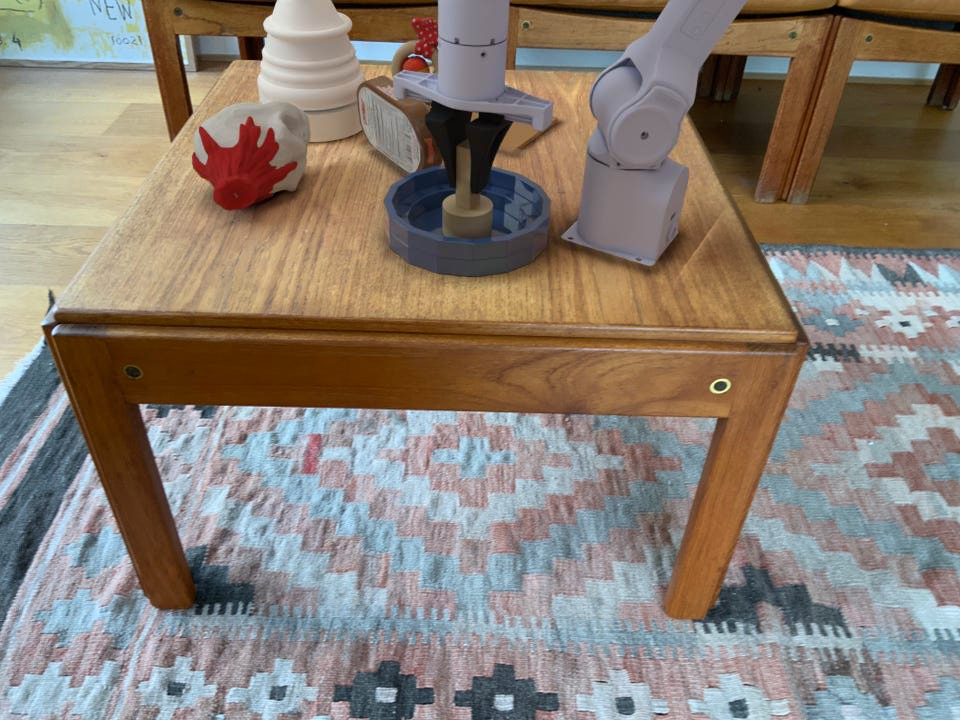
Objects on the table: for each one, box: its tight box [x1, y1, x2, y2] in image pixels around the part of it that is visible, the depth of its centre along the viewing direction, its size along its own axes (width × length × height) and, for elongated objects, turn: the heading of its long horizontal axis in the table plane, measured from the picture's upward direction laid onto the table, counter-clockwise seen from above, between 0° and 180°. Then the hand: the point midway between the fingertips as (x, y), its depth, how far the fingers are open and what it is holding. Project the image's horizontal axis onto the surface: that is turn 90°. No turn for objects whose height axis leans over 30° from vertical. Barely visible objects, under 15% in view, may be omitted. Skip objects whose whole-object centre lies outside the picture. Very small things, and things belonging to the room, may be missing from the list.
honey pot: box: [256, 0, 367, 143], centre depth 91 cm, size 13×13×18 cm
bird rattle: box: [390, 16, 438, 78], centre depth 100 cm, size 6×11×9 cm
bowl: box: [382, 164, 552, 278], centre depth 75 cm, size 16×16×4 cm
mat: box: [471, 112, 558, 152], centre depth 97 cm, size 12×12×1 cm
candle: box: [191, 101, 311, 212], centre depth 79 cm, size 9×11×15 cm
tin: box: [356, 75, 443, 174], centre depth 86 cm, size 15×3×8 cm, turn 34°
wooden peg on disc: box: [442, 139, 493, 239], centre depth 73 cm, size 5×5×9 cm
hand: (468, 186), depth 73 cm, fingers closed on wooden peg on disc
